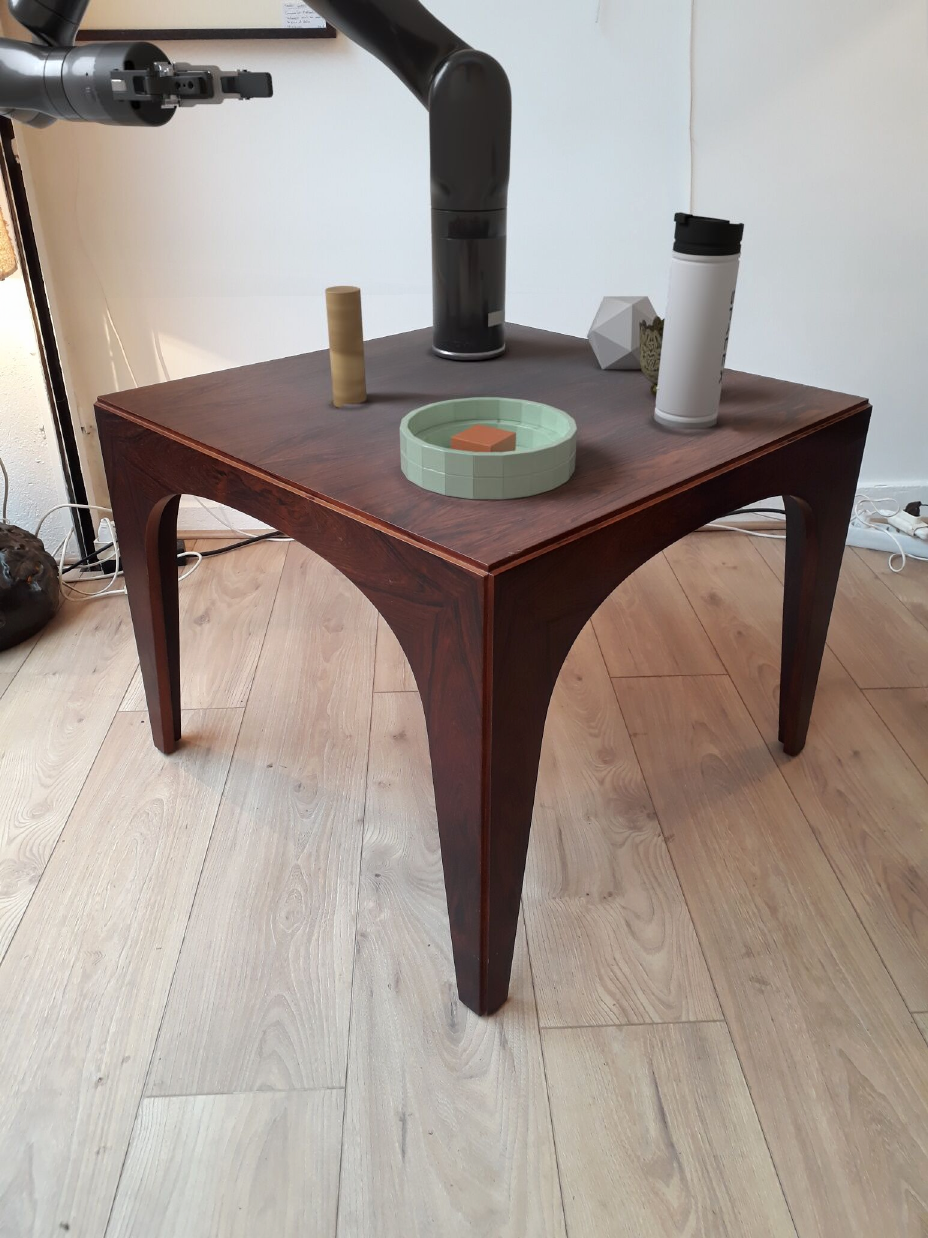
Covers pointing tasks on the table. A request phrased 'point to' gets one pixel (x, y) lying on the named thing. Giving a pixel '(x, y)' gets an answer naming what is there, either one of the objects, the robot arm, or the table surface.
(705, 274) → the travel mug
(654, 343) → the cup
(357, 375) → the wooden cylinder
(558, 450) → the bowl
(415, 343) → the table surface
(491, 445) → the block
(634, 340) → the die
